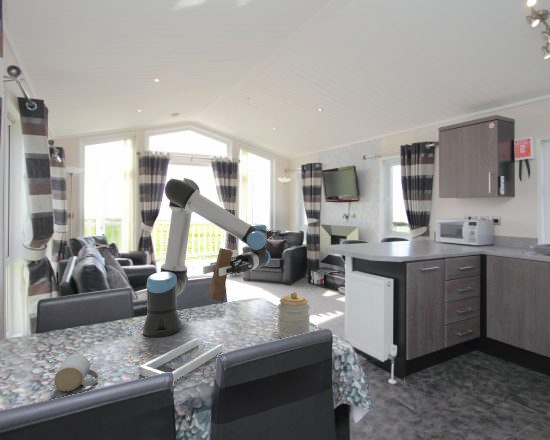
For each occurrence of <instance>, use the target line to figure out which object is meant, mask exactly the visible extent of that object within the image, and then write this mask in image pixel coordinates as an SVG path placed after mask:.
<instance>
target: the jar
mask: <svg viewBox="0 0 550 440" xmlns="http://www.w3.org/2000/svg"><path fill="white" fill-rule="evenodd" d="M279 302H280V303H279V304H277V309H278V312H277V335H278V337H279V338H281V339H282V338H285V337H290V336H294V335H299V334H303V333H307V332H310V333H311V330H310V317H311V315H310V313H309V312H310V311H309V310H310V308H311V307H310V305H309V304H308V303H309V301H308V299H307V298H305V296H303V295H298V293H297V292H296V291H292V292H291V293H290V295H289V294H288V295H284V296H283V297H282V298H280V299H279Z"/></svg>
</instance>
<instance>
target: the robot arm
mask: <svg viewBox="0 0 550 440" xmlns="http://www.w3.org/2000/svg"><path fill="white" fill-rule="evenodd" d="M200 191H201V190H200V188H199V185H198V184H197V183H196V182H195V181H194V180H193V179H191V178H190V179H189V178H186V177H182V176H175V177H171V178H169V180H168V181H167V182H166V184H165V186H164V194H165V196H166V198H167V200H169V204H168V207H169V209H171V216H170V222H169V223H170V225H169V230H168V237H167V238H168V239H167V246H166V247H167V248H166V255H165V262H164V263H163V264H162V265H160V271H159V272H156V273H153V274H151V275H149V276H148V277H147V281H146V301H147V303H146V304H147V305H146V306H147V307H146V309H147V313H146V317H145V321H144V324H143V327H142V333H143V335H144V336H146V337H150V338H163V337H169V336H172V335H175V334H177V333H179V332H180V331H181V330H182V321H181V319H180V316H179V313H178V301H177V299H178V296H179V295H181V294H182V293H184V291H185V290H186V288H187V287H188V283H189V277H188V275H187V274H188V267H187V266H186V258H187V257H186V256H187V249H188V242H189V235H190V234H189V233H190V228H191V227H190V226H191V219H192V214H193V213H195V214H197V215H199V216H200V217H202V218H203V219H204V220H205V219H206V220H207V221H209V222H210V223H212V224H213V225H215V226H216V227H218V228H220V229H222V231H223V230H224V231H225V232H227V233H228V234H229V235H231V236H232V237H235V238H236V239H238V240H239V241H241V242H242V243H244V244H245V245H247V246H248V248H250V249H249V252H246V253H242V254H241V253H240V254H238V255H237V256H236V257H235V258H232V259H231V262H230V266H227V267H223V268H219V276H223V275H226V274H227V275H228V274H232V273H233V274H234V273H237V274H240V273H245V272H248V271H249V272H252V270H255V269H258V268H263V267H265V266H267V265H268V264H269V263H270V261H271V254H270V252H269V251H268V249H267V241H268V240H267V239H268V238H267V236H268V235H267V233H268V230H267V225H266V224H251V225H250V224H249V223H247V222H246V221H244V220H242V219H240V217H238V216H236V215H234V214H233V213H232V212H230V211H228V210H226V209H225V208H223V207H221V206H220V205H219V204H217V203H215V202H214V201H212V200H210V199H209V198H207V197H205V196H204V195H202V194H201V192H200ZM216 262H217V261H214V262H210V264H209V265H204V266H202V272H203V273H202V274H203V275H206V274H207V275H208V274H210V273H214V269H215V265H216Z"/></svg>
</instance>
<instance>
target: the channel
mask: <svg viewBox="0 0 550 440" xmlns="http://www.w3.org/2000/svg"><path fill="white" fill-rule="evenodd" d="M197 346H199V338H197V337H195V338H193V339H191V340H190V341H187V342H185V343H184V344H181V345H179V346H177V347H175V348H173V349H171V350H169V351H168V352H166V353H164V354H162V355H159V356H157V357H155V358H154V359H153V358H152V359H151V360H150V361H148V362H146V363H144V364H142V365H140V366H139V375H141V376H143V377H145V378H148V377H147V376H151V375H156V374H161V373H165V372H172V373H173V375H174V382H176V381H178V380H179V379H181V378H183V377H184V376H186V375H188V374H190V373H191V372H192V371H194V370H195V369H197V368H198V367H200V366H202V365H203V364H205V363H207V362H208V361H210V360H211V359H214V357H216V356H218V355H219V354H221V353H222V352H223V344H220V343H219V344H218V345H216V346H214V347H212V348H211V349H209V350H207V351H205V352H204V353H202V354H200V355H199V356H196V357H195V358H193V359H192V360H189V361H188V362H186V363H185V364H183V365H181V366H179V367H177V368H173V367H169V366H166V365H164V364H166V363H168V362H169V361H172V360H174V359H176V358H177V357H180V356H181V355H183V354H185V353H186V352H188V351H190V350H192V349H194V348H196V347H197ZM217 354H218V355H217ZM182 376H183V377H182ZM180 377H181V378H180ZM177 379H178V380H177ZM174 382H173V383H174Z"/></svg>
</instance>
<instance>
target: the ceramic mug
mask: <svg viewBox="0 0 550 440" xmlns="http://www.w3.org/2000/svg"><path fill="white" fill-rule="evenodd" d="M90 362H91V361H90V359H88V358H87V357H86V356H85V355H82V354H81V353H80V354H79V353H76V354H75V353H74V354H70V355H69V356H67V357H65V358H64V360H63V361H62V362H61V364H60V366H59V367H58V369H57V371H56V373H55V375H54V380H53V382H54V383H53V384H54V386H55V387H56V388H57V390H59V391H61V392H65V391H67V392H72V391H74V390H76V389H77V388H79V387H80V385H83V386H90V387H91V386H94V385H96V384H97V383H98V381H99V378H100V374H99V373H98V372H96V371H95V370H93V369H91V363H90ZM87 375H89V376H91V377H93V378H94V380H89V379H88V380H87V379H85V378H86V376H87Z"/></svg>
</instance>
